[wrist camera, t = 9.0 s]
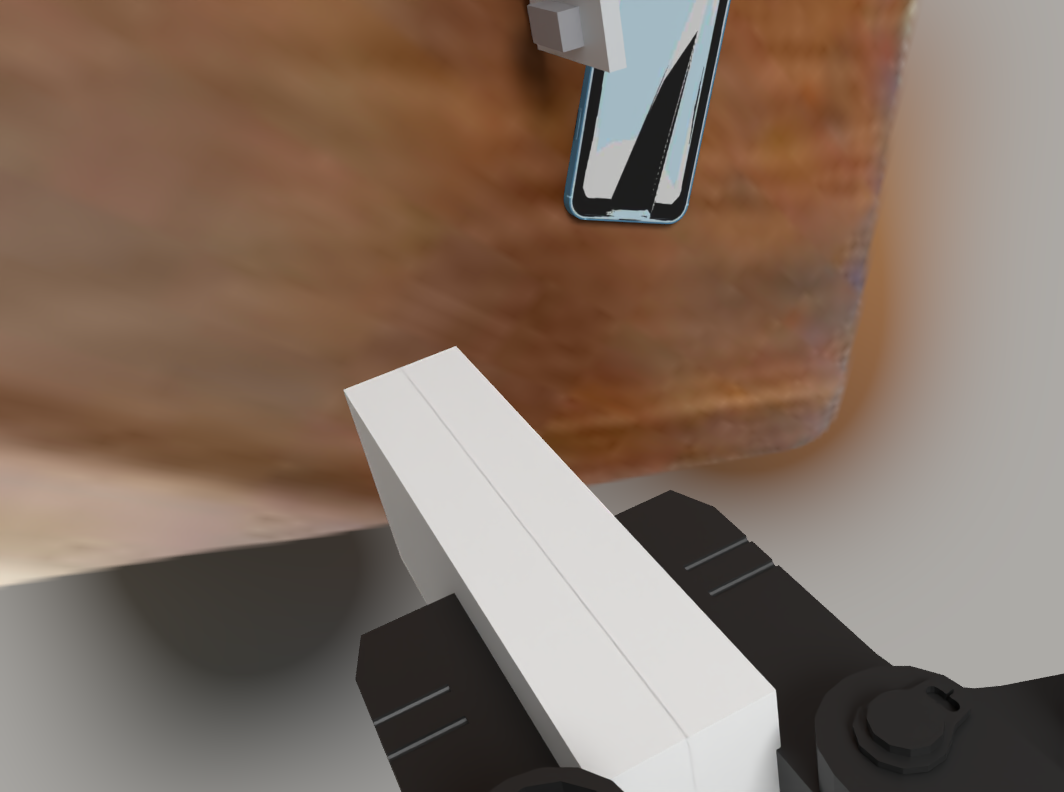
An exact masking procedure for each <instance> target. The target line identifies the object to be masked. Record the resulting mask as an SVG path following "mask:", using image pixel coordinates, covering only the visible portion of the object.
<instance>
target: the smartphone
mask: <svg viewBox="0 0 1064 792" xmlns="http://www.w3.org/2000/svg"><path fill="white" fill-rule="evenodd" d="M618 1H619V9H620V17H621V25H622V33H623V41H624V49H625V57H626V65H627V68H624V69H620V70H617V71H614V72H611V73H609V72H606V71H603V70H600V69H597V68H594V67H591V66H587V65H586V69H585V75H584V81H583V87H582V92H581V98H580V104H579V110H578V116H577V121H576V127H575V133H574V139H573V145H572V150H571V156H570V162H569V168H568V174H567V180H566V186H565V192H564V204H565V207H566V209H567V211H568V212H569V213H570V214H572V215H573V216H575V217H577V218H579V219H582V220H598V221H617V222H636V223H656V224H672V223H675V222H677V221H679V220H680V219H681V218H682V217H683V216H684V214H685V212H686V210H687V208H688V204H689V199H690V194H691V189H692V185H693V180H694V175H695V170H696V165H697V161H698V156H699V151H700V146H701V141H702V137H703V132H704V127H705V122H706V117H707V113H708V108H709V103H710V98H711V93H712V88H713V84H714V79H715V74H716V69H717V64H718V60H719V55H720V50H721V45H722V40H723V36H724V31H725V26H726V21H727V16H728V11H729V7H730V2H731V0H618Z"/></svg>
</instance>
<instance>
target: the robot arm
mask: <svg viewBox="0 0 1064 792" xmlns="http://www.w3.org/2000/svg"><path fill="white" fill-rule="evenodd" d="M344 393H345V396H346V399H347V402H348V405H349V408H350V411H351V414H352V417H353V420H354V423H355V425H356V428H357V431H358V434H359V437H360V440H361V443H362V446H363V449H364V452H365V455H366V458H367V461H368V464H369V466H370V469H371V472H372V475H373V478H374V481H375V484H376V487H377V490H378V493H379V496H380V499H381V502H382V504H383V507H384V510H385V513H386V516H387V519H388V522H389V525H390V528H391V531H392V534H393V536H394V540H395V542H396V545H397V548H398V551H399V554H400V557H401V559H402V561H403V563H404V564H405V566H406V568H407V569H408V571H409V573H410V575H411V577H412V579H413V581H414V582H415V584H416V586H417V588H418V589H419V591H420V593H421V595H422V597H423V599H424V600H425V602H426V604H427V605H426V606H424V607H422V608H420V609H418V610H415V611H413V612H411V613H409V614H407V615H405V616H402V617H400V618H398V619H396V620H394V621H392V622H389V623H387V624H385V625H383V626H381V627H379V628H377V629H374V630H372V631H370V632H368V633H365V634H363V635H361V640H360V648H359V656H358V665H357V672H356V682H357V684H358V687H359V689H360V692H361V694H362V697H363V699H364V701H365V704H366V706H367V709H368V711H369V714H370V716H371V718H372V721H373V723H374V726H375V728H376V731H377V733H378V736H379V738H380V741H381V743H382V746H383V748H384V750H385V753H386V755H387V757H388V760H389V762H390V765H391V768H392V770H393V772H394V775H395V777H396V780H397V782H398V785H399V787H400V789H401V792H1064V674H1060V675H1055V676H1049V677H1044V678H1040V679H1034V680H1029V681H1024V682H1019V683H1014V684H1009V685H1003V686H996V687H985V688H963V687H962V686H960V685H959V684H957V683H955V682H954V681H952V680H951V679H949V678H947V677H946V676H944V675H940V674H937V673H934V672H930V671H926V670H923V669H919V668H915V667H911V666H892V665H891V664H890V663H888V662H887V661H886V660H884V659H882V658H881V657H880V656H878V655H877V654H876V653H875V652H874V651H873V650H872V649H870V648H869V647H868V646H867V645H866V644H865V643H864V642H863V641H862V640H861V639H859V638H858V637H857V636H856V635H855V634H854V633H853V632H852V631H850V629H848V628H847V627H846V626H845V625H844V624H843V623H842V622H841V621H840V620H838V619H837V618H836V617H835V616H834V615H833V614H832V613H831V612H829V610H827V609H826V608H825V607H824V606H823V605H822V604H821V603H820V602H819V601H818V600H816V599H815V598H814V597H813V596H812V595H811V594H810V593H809V592H807V591H806V590H805V589H804V588H803V587H802V586H801V585H800V584H799V583H798V582H797V581H795V580H794V579H793V578H792V577H791V576H790V575H789V574H788V573H786V572H785V571H784V570H783V569H782V568H781V567H780V566H779V565H778V566H775V565H774V564H773V562H772V559H771V558H770V557H769V556H768V555H767V554H766V553H764V552H763V551H762V550H761V549H760V548H759V547H758V546H757V545H756V544H755V543H753V542H750V543H749V541H748V540H747V538H746V535H745V534H743V533H742V532H741V531H740V530H739V529H738V528H737V527H736V526H735V525H733V524H732V523H731V522H730V521H729V520H728V519H727V518H726V517H725V516H724V515H722V514H721V513H720V512H719V511H718V510H717V509H716V508H715V507H713V506H710V505H707V504H705V503H702V502H700V501H697V500H695V499H692V498H689V497H687V496H685V495H682V494H679V493H677V492H674V491H672V490H670V491H667V492H665V493H663V494H661V495H659V496H657V497H654V498H652V499H650V500H648V501H646V502H643V503H641V504H639V505H637V506H635V507H632V508H630V509H628V510H626V511H624V512H622V513H619V514H618V515H615V516H613V514H612V513H610V511H609V510H608V509H607V508H606V507H605V506H604V505H603V504H602V503H601V502H600V501H599V499H598V498H597V497H596V496H595V495H594V494H593V493H592V492H591V491H590V490H589V489H588V488H587V486H586V485H585V484H584V483H583V482H582V481H581V480H580V479H579V478H578V477H577V476H576V475H575V474H574V473H573V471H572V470H571V469H570V468H569V467H568V466H567V465H566V464H565V463H564V462H563V461H562V460H561V459H560V457H559V456H558V455H557V454H556V453H555V452H554V451H553V450H552V449H551V448H550V447H549V446H548V445H547V444H546V442H545V441H544V440H543V439H542V438H541V437H540V436H539V435H538V434H537V433H536V432H535V431H534V430H533V428H532V427H531V426H530V425H529V424H528V423H527V422H526V421H525V420H524V419H523V418H522V417H521V416H520V414H519V413H518V412H517V411H516V410H515V409H514V408H513V407H512V406H511V405H510V404H509V403H508V402H507V401H506V399H505V398H504V397H503V396H502V395H501V394H500V393H499V392H498V391H497V390H496V389H495V388H494V387H493V385H492V384H491V383H490V382H489V381H488V380H487V379H486V378H485V377H484V376H483V375H482V374H481V373H480V372H479V370H478V369H477V368H476V367H475V366H474V365H473V364H472V363H471V362H470V361H469V360H468V359H467V358H466V356H465V355H464V354H463V353H462V352H461V351H460V350H459V349H458V348H457V347H456V346H455V347H453V348H450V349H447V350H445V351H442V352H440V353H437V354H434V355H432V356H429V357H427V358H424V359H422V360H419V361H416V362H414V363H411V364H409V365H406V366H404V367H401V368H398V369H396V370H393V371H391V372H388V373H386V374H383V375H380V376H378V377H375V378H373V379H370V380H367V381H365V382H362V383H360V384H357V385H355V386H352V387H349V388H347V389H344Z"/></svg>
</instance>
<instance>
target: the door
mask: <svg viewBox="0 0 1064 792" xmlns="http://www.w3.org/2000/svg"><path fill="white" fill-rule="evenodd" d="M527 8H528V14H529V20H530V26H531V32H532V37H533V43H535V44H537V47H538V49H539V50H542V51H545V52H548V53H551V54H554V55H557V56H560V57H563V58H566V59H569V60H572V61H575V62H578V63H581V64H584V65H587V66H591V67H594V68H597V69H600V70H603V71H606V72H609V73H611V72H614V71H617V70H620V69H624V68H627V65H626V57H625V49H624V41H623V33H622V25H621V17H620V9H619V1H618V0H530V4H529V5H527Z"/></svg>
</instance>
